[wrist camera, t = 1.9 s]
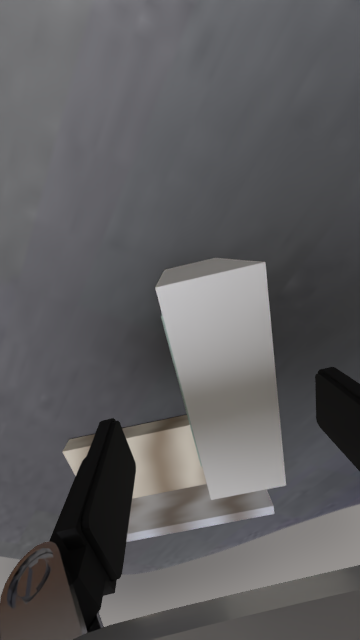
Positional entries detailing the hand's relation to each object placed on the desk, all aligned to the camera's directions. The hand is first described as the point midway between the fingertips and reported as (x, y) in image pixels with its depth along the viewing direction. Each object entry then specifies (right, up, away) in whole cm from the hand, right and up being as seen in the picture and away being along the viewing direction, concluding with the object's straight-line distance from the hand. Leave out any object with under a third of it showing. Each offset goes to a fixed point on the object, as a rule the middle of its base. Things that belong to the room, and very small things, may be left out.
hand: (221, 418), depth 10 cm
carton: (0, +3, +10) cm, 11 cm away
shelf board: (-3, -11, +15) cm, 19 cm away
